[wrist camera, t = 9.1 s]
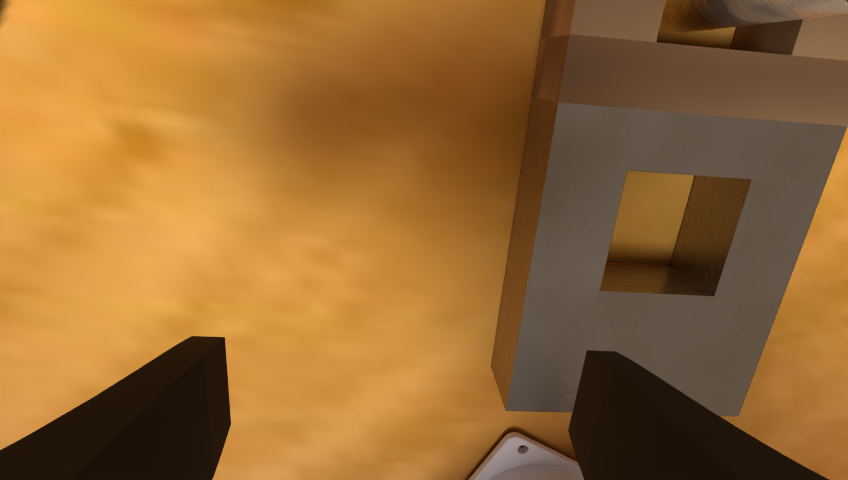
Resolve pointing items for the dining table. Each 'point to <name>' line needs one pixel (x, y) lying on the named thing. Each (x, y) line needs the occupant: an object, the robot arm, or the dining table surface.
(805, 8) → the cylindrical metal peg
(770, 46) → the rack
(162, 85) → the dining table surface
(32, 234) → the dining table surface
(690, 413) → the robot arm
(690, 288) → the socket block
